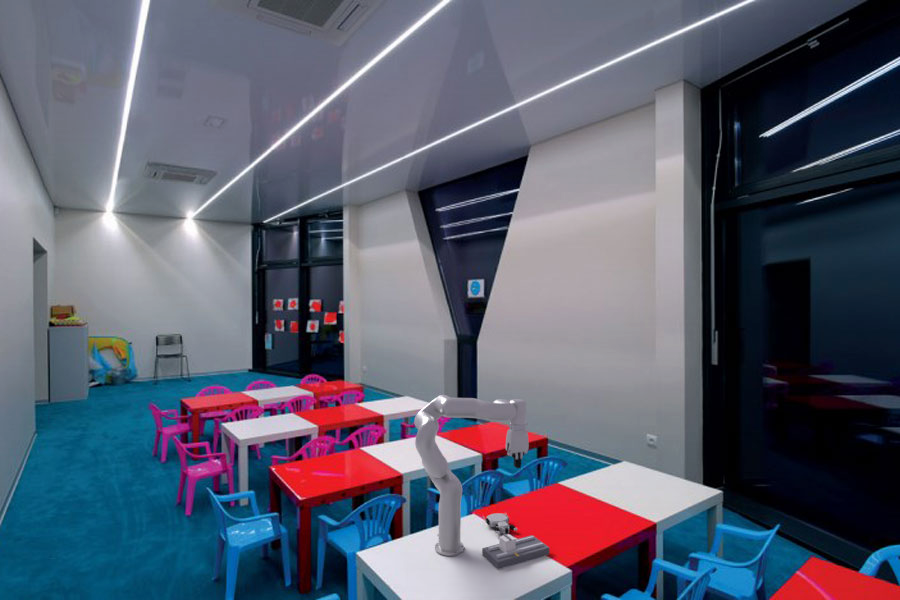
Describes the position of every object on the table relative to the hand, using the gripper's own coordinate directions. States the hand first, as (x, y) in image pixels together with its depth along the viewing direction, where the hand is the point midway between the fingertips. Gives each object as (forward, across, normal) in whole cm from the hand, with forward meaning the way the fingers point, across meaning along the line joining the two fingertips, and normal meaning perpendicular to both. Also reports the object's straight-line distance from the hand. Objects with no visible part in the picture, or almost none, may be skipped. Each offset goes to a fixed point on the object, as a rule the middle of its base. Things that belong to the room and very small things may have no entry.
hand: (517, 467), depth 217 cm
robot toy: (+32, +2, -11) cm, 34 cm away
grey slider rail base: (+32, +9, +12) cm, 35 cm away
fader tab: (+29, +13, +12) cm, 34 cm away
